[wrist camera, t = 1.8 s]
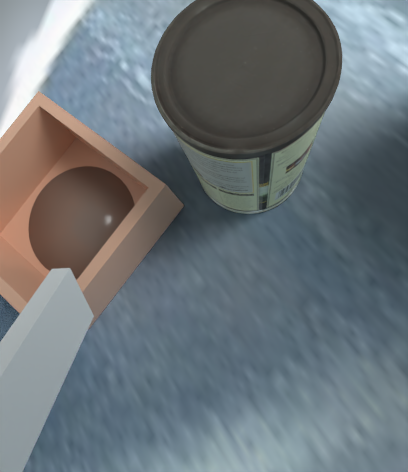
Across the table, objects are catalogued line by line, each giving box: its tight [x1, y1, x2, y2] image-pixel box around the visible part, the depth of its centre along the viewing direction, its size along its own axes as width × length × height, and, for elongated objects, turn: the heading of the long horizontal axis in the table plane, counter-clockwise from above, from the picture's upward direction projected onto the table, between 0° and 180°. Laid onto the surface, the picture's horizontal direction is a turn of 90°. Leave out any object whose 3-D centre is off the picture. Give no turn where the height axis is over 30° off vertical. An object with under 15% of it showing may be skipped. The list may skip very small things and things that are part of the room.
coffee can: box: [151, 0, 342, 214], centre depth 24 cm, size 10×10×14 cm
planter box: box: [0, 91, 184, 329], centre depth 30 cm, size 15×15×6 cm
